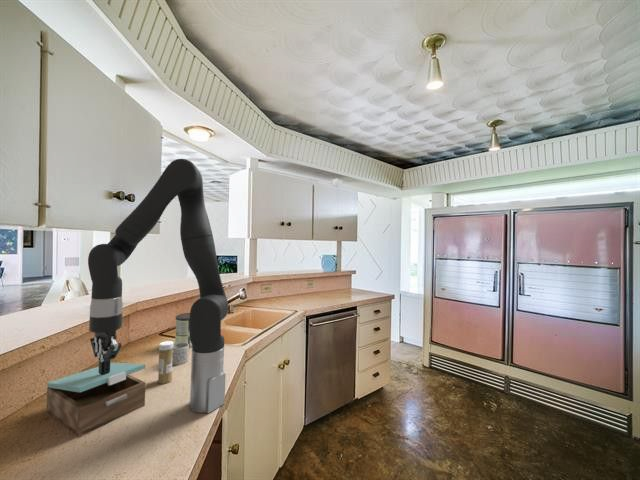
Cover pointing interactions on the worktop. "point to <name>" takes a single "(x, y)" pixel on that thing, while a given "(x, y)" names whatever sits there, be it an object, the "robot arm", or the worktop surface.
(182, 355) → the mug
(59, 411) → the storage box
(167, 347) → the sprinkles bottle
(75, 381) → the lid
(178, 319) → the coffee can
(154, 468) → the worktop surface
